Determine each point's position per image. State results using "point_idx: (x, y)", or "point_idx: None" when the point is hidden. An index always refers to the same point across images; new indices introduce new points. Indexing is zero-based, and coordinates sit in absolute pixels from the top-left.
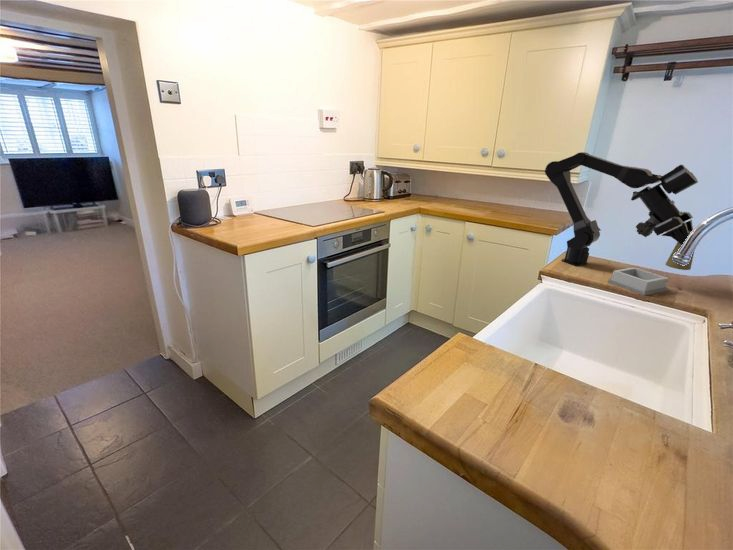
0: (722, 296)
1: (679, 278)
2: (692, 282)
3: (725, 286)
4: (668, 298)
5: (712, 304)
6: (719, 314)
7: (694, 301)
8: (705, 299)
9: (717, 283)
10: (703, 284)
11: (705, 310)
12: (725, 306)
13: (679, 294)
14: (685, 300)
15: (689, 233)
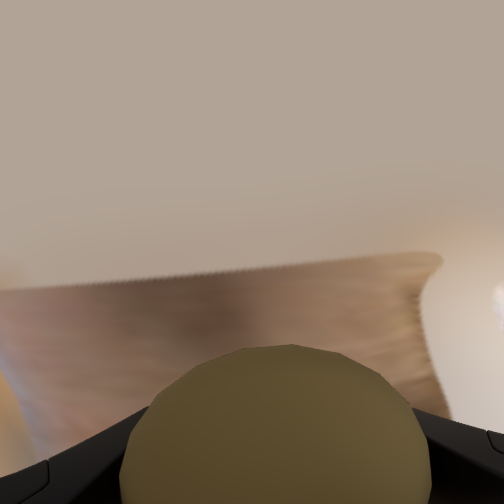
0: (199, 283)
1: (77, 428)
2: (93, 384)
3: (59, 288)
4: (415, 398)
5: (336, 293)
6: (408, 265)
7: (363, 337)
8: (300, 318)
9: (41, 310)
10: (88, 348)
11: (414, 295)
12: (316, 264)
13: None
14: (382, 359)
15: (419, 477)
